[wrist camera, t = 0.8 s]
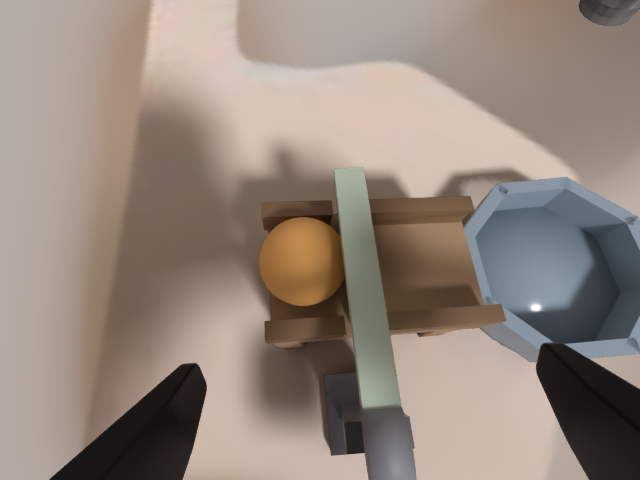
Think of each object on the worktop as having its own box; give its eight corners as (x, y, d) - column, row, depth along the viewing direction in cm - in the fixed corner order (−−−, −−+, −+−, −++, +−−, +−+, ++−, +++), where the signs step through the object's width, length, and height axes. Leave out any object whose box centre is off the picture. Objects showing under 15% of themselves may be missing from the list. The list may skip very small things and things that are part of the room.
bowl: (649, 350, 19) (702, 348, 17) (472, 367, 19) (495, 367, 17) (582, 195, 23) (615, 172, 20) (434, 209, 23) (448, 188, 21)
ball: (346, 309, 16) (360, 291, 12) (264, 315, 16) (253, 299, 12) (337, 235, 18) (347, 198, 14) (263, 239, 17) (252, 203, 13)
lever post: (402, 445, 18) (447, 498, 11) (331, 451, 18) (328, 508, 11) (390, 369, 20) (423, 370, 12) (324, 375, 20) (318, 380, 12)
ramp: (462, 332, 20) (524, 316, 14) (284, 349, 20) (259, 341, 14) (439, 235, 23) (482, 181, 16) (280, 250, 23) (257, 203, 16)
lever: (470, 727, 11) (595, 1058, 6) (349, 737, 11) (363, 1076, 6) (382, 213, 18) (401, 150, 12) (308, 220, 18) (298, 161, 13)
